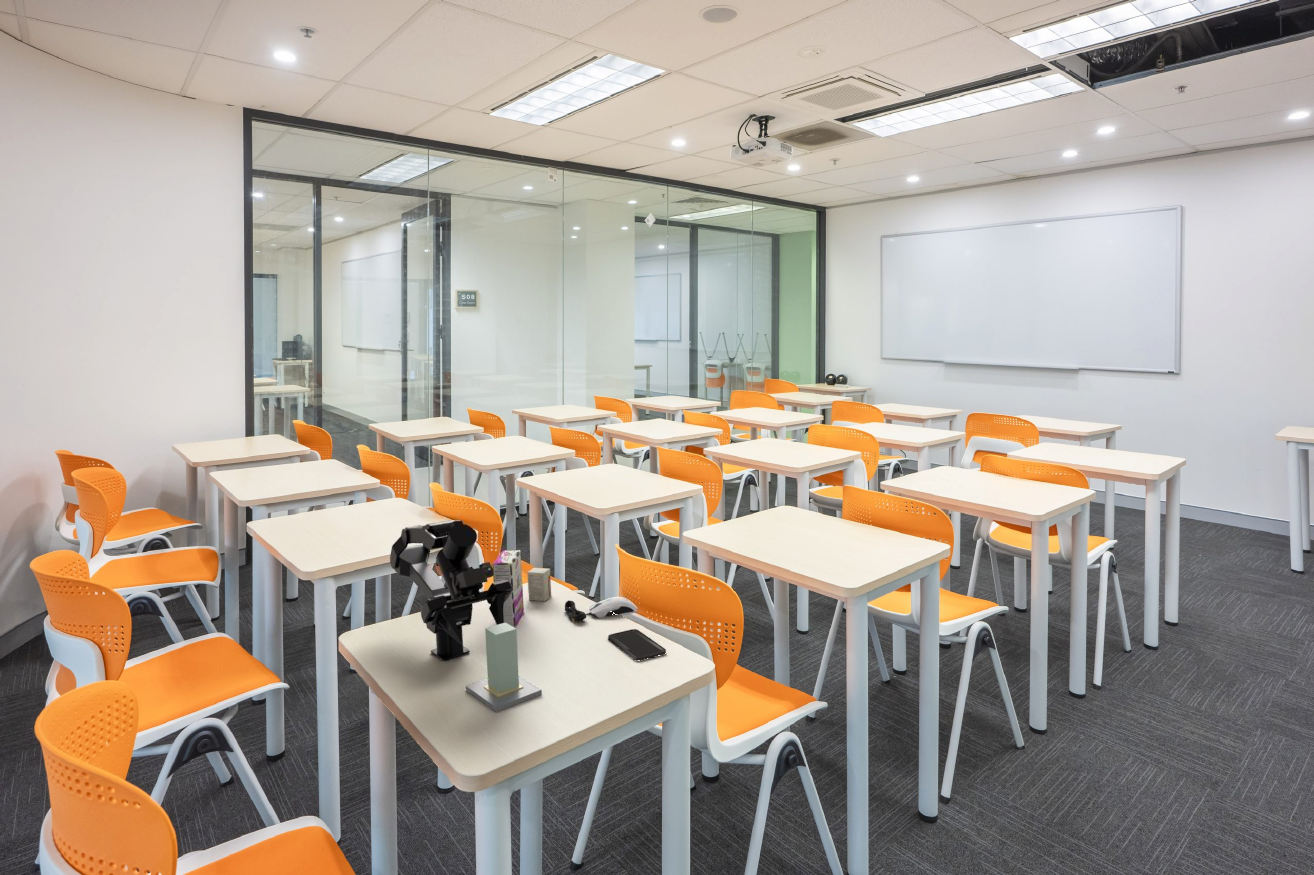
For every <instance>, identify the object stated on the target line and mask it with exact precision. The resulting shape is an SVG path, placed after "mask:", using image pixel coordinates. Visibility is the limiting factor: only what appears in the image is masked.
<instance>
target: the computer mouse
mask: <svg viewBox="0 0 1314 875" xmlns="http://www.w3.org/2000/svg"><path fill="white" fill-rule="evenodd" d="M638 609H639V608H638V607H637V606H636V604H634V603H633V602H632V601H631V600H629V599H628V598H625V597H622V596H612V597H609V598H606V599H605V598H604V600H601V601H598V602H596V603H594V604H592V605H590V606H589V607H588V611H589V613H586V612H584V611H582V610H578V609H577V608H576V603H575V601H574V600H566V602H565V603H564V611H565V612H566V613H567V614H568V615H567V616H568V618H569V619H570V620H571V621H572V623H578V622H579V623H582V622H583V621H584V620H586V619H587V616H588V615H589V616H591V615H592V616H596V617H597V618H599V619H600V618H607V617H614V616H616V615H615V614H618V615H617V616H626V615H632V614H634V613H636V612H638ZM610 611H612V612H610ZM613 612H614V613H615V614H613ZM612 614H613V615H614V616H612Z"/></svg>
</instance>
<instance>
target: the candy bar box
mask: <svg viewBox="0 0 1314 875" xmlns="http://www.w3.org/2000/svg"><path fill="white" fill-rule="evenodd" d="M521 554H522V553H521V550H520V549H519V550H518V549H517V550H516V549H515V550H513V549H511V550H502V551H501V552H500V554H499V555H498V556H497V558H496V559H495V560H494V562H492V564H491V566H492V568H493V572H494V575H493V576H492V578H493V583H495V582H499V581H503V580H507V581H509V582H510V583H511V585H512V587H513V591H512V592H511V594H510V596H509V597H508V599H507V600H506V601H505V602H504V608H503V614H504V623H505V622H506V623H507V624H509V625H511V626H512V627H514V628H516V627H517V625H518V623H519V621H520V619H521V618H522V615H523V613H525V608H524V590H523V575H522V574H523V573H522V557H521ZM495 624H496V623H495ZM496 625H497V624H496Z"/></svg>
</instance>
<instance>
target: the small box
mask: <svg viewBox="0 0 1314 875" xmlns="http://www.w3.org/2000/svg"><path fill="white" fill-rule="evenodd" d="M526 576H527V590H528V591H527V593H528V600H529V599H530V600H529V601H540V602H546V601H547V600H548V599H550V598H551V597H552V585H551V583H552V582H551V578H552V577H551V568H545V567H544V568H543V567H533V568H531V569H530V570H528V571H527V573H526Z"/></svg>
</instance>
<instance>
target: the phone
mask: <svg viewBox="0 0 1314 875" xmlns="http://www.w3.org/2000/svg"><path fill="white" fill-rule="evenodd" d="M607 640H608V641H609V642H610V643H612V644H613V645H614V646H615V647H617V648H618V647H619V648H620V649H619V648H618V649H619V650H621V652H623V651H624V652H623V653H624V654H626V655H627V654H628V655H629V657H630V658H631V657H632V658H633V659H632V658H631V659H632V660H633V661H635V660H643V661H645V660H644V659H647V658H651V657H653V656H658V655H662V656H664V655H663V654H665V653H666V654H667V649H666V648H665V647H663V646H662V645H661V644H659V643H658V642H656V641H655V640H653V639H652V638H651V637H649V636H647V635H646V634H645V633H644V632H642V631H640V630H639V629H638V628H631V629H627V630H623V631H619V632H615V633H611V634H608V636H607ZM666 654H665V655H666ZM628 655H627V656H628ZM658 657H659V656H658ZM647 660H648V659H647Z"/></svg>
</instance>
